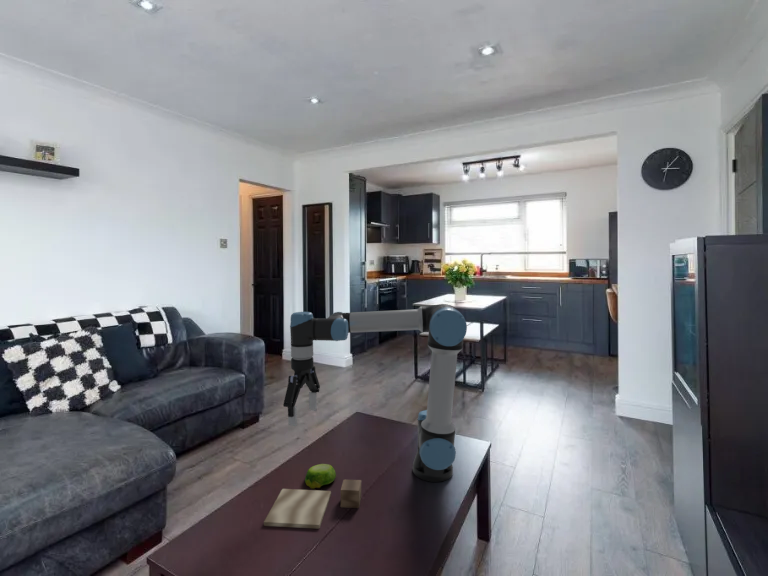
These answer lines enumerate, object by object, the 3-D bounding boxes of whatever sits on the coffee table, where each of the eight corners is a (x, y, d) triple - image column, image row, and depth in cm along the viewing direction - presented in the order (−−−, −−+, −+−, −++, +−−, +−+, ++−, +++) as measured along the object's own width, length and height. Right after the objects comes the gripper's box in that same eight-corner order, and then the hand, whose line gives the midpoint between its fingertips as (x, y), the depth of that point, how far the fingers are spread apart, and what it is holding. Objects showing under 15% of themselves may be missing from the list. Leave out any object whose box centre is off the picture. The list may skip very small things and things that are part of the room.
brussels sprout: (330, 491, 135) (330, 477, 135) (300, 487, 137) (300, 474, 137) (339, 473, 147) (339, 460, 146) (312, 470, 149) (312, 458, 148)
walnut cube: (361, 497, 132) (361, 480, 131) (359, 508, 126) (358, 490, 125) (343, 496, 132) (343, 479, 132) (340, 507, 126) (340, 489, 126)
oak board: (331, 494, 133) (331, 491, 133) (319, 528, 116) (319, 524, 116) (282, 492, 134) (282, 488, 134) (263, 525, 117) (263, 521, 117)
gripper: (310, 348, 146) (311, 403, 148) (271, 365, 123) (272, 430, 124) (328, 349, 144) (329, 405, 145) (291, 367, 120) (293, 434, 122)
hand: (303, 417), depth 135 cm, fingers open, 13 cm apart
